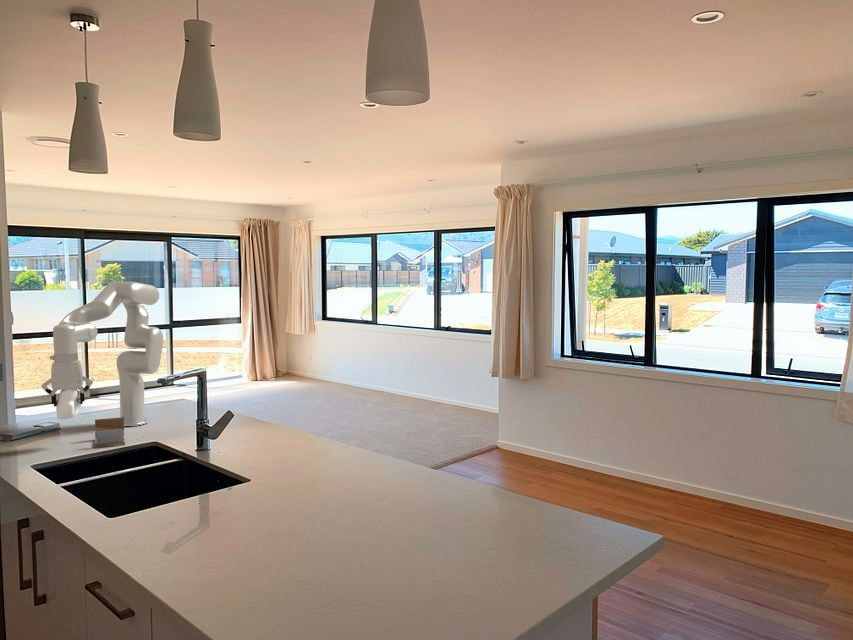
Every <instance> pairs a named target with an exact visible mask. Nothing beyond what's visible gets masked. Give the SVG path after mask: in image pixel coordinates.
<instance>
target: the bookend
mask: <svg viewBox="0 0 853 640" xmlns="http://www.w3.org/2000/svg"><path fill="white" fill-rule="evenodd" d="M96 438H97V445H104V444H114V443H124V440H123V429H115V430H104V431H96Z"/></svg>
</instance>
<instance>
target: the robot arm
mask: <svg viewBox="0 0 853 640" xmlns="http://www.w3.org/2000/svg"><path fill="white" fill-rule="evenodd" d="M159 298H160V293H159V290H158V288H157V287H156V286H154V285H153V284H152V285H151V284H146V283H141V282H136V281H122V280H121V281H120V280H118V281H117V280H116V281H111V282H109V283H108V284H107V285H106V286H105V287H104V288H103V289H102V290H101V291H100V292H99V293H98V295H97V296H95V297H94V298H93V300H92V301H90V302H88V303H86V304H83V305H81V306H80V307H77V308H76V309H73V310H72V311H71V312H69V313H67V314H66V315H65V316H64V317H63V318H62V320H60V322H59V323H58V324H57V325H55V326H53V328H52V339H53V354H52V355H49V360H50V361H51V360H52V361H53V362H52V363H51V368H50V369H51V370H50V378H49V379H48V380H46V381H45V382H43V383H42V384H41V386H40V387H41V389H43V390H44V391H45V392H46V394H49V396H51V397H50V398H51V399H50V400H51V405H53V407H56V405H57V401H58V399H57V394H56V393H57V391H61V390H64V389H76V388H77V389H78V391H79V401H80V404H81V405H83V403H84V402H85V399H86V397H85V393H86V392H87V391H88V390H89V389H90V387H91V386H92V385H93V383H94V381H93V380H91V379H90V378H88V377H86V376H84V375H83V368H82V363H81V360H79V355H78V354H79V353H78V343H89V342H92V341H94V340H95V339H96V338H97V336H98V333H99V332H98V328H97V326H96V325H95V324H93V323H91V322H96V321H100V320H104V319H107V318H108V317H110V316H111V315H112V314H113V313H114V311H115V310H116V309H117V308H118V307H119V306H120V305H121V304H122V305H123V307H124V308H125V311H126V316H127V317H126V322H125V323H126V324H125V330H124V331H125V332H124V339H123V341H124V345H125V346H126V347H127V348H128V347H129V348H131V349H132V348H133V349H145V350H144V351H139V350H125V351H123V352H121V353H120V354H119V355H117V358H116V367H117V372H118V379H119V417H124V426H132V427H140V426H144V425H147V424H148V423H149V419H148V418H145V381H144V378H143V376H142V375H141V374H143V375H145V374H146V375H152V374H156V373H157V372H158V371H159V369H160V365H161V359H162V352H163V347H164V346H163V345H164V336H163V335H164V334H163V332H162V330H161V329H160V328H159V327H156V326H149V317H150V316H149V312H148V310H147V309H146V307H145V306H152V305H155V304H156V303H158V300H159ZM84 382H85V383H87V384H86V385H85V386H84V387H83V384H84ZM48 385H50V386H51V388H50V387H48ZM51 389H52V390H51ZM146 423H147V424H146ZM143 424H144V425H143ZM139 425H140V426H139Z"/></svg>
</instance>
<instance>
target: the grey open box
mask: <svg viewBox="0 0 853 640" xmlns="http://www.w3.org/2000/svg"><path fill="white" fill-rule="evenodd" d="M94 427H95V428H94V429H95V430H94V432H95V433H94V436H95V438H94V447H95V449H98V447H99V449H100V448H108V447H109V448H110V447H119V446H118V445H121V446H125V445H126V441H125V440H126V439H125V427H124V417H120V416H119V417H111V418H110V417H108V418H96V419H94ZM115 429H123V440H124V443H114V444H104V445H97V438H96V431H104V430H115Z"/></svg>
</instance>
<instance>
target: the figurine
mask: <svg viewBox="0 0 853 640" xmlns="http://www.w3.org/2000/svg"><path fill="white" fill-rule="evenodd" d="M79 396H80V391H79V389H78V388H76V389H64V390H59V393H58V398H57V405H56V408H55V409H56V417H57V419H58V420H69V419H71V420H72V419H74V418H77V416H78V412H80V411H79V410H80V408H81V406H82V404H80V399H79V398H78V397H79Z"/></svg>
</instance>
